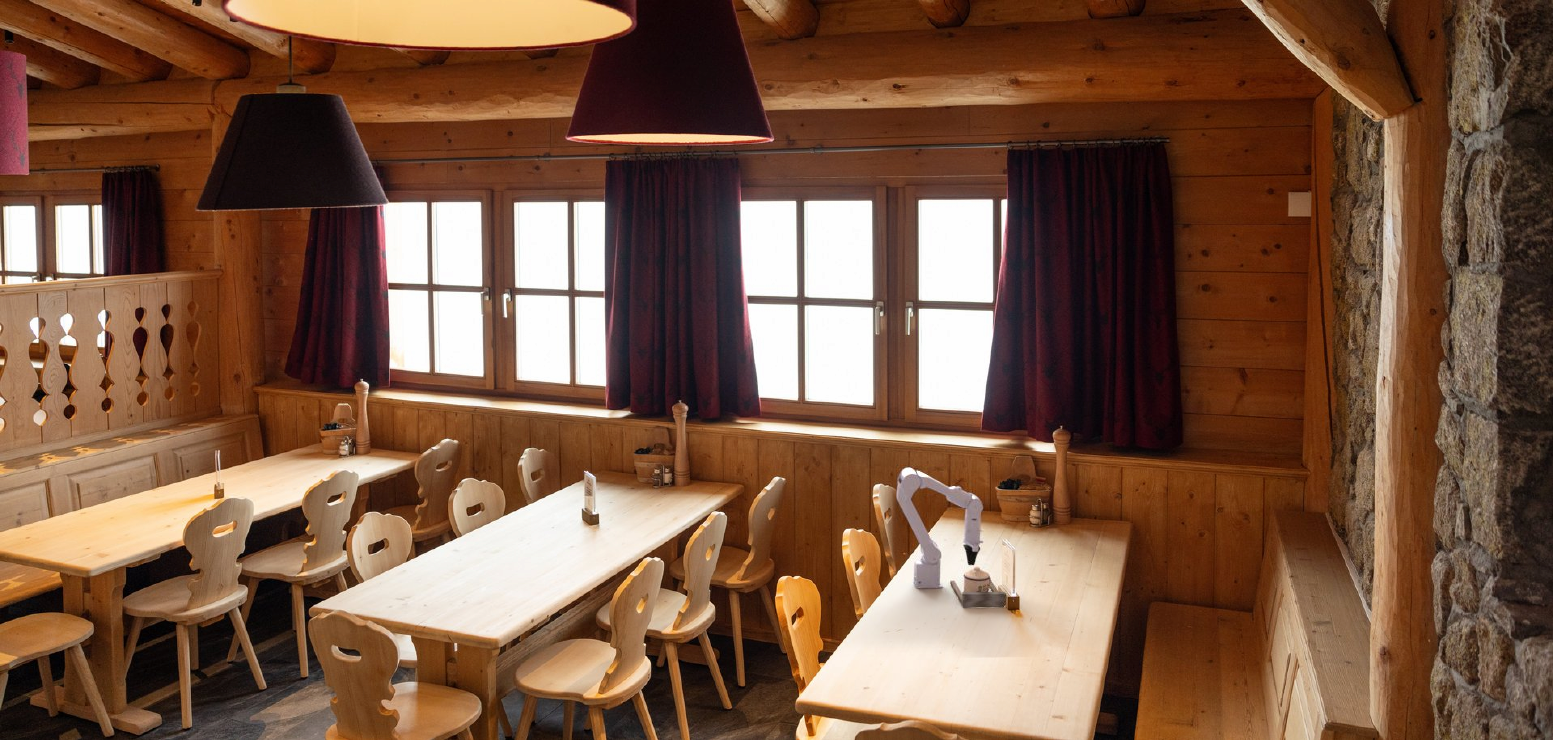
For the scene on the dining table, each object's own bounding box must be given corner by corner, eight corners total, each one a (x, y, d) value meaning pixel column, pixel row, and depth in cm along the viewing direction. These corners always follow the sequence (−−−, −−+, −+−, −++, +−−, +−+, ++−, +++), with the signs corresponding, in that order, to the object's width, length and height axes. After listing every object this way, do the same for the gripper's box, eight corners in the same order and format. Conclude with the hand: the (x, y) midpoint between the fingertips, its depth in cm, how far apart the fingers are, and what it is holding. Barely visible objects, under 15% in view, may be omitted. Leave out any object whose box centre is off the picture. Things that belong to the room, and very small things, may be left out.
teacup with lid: (977, 605, 414) (978, 573, 412) (957, 598, 420) (958, 566, 419) (999, 597, 421) (1000, 566, 419) (979, 590, 428) (980, 559, 426)
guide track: (963, 607, 411) (963, 594, 410) (950, 584, 435) (950, 571, 434) (1006, 607, 411) (1006, 593, 411) (990, 584, 435) (991, 571, 434)
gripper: (987, 534, 424) (985, 571, 426) (979, 523, 439) (978, 558, 441) (967, 534, 424) (966, 571, 426) (960, 522, 438) (959, 558, 441)
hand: (971, 564), depth 434 cm, fingers closed
